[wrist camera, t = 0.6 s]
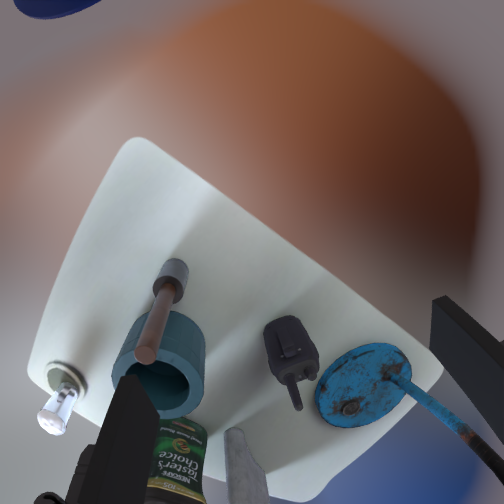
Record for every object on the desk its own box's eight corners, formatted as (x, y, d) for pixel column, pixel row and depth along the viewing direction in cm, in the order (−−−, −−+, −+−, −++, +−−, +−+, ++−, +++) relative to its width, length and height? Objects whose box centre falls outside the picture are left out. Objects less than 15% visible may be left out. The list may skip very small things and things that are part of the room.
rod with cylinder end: (156, 273, 38) (115, 356, 21) (172, 252, 37) (137, 327, 20) (178, 289, 39) (152, 381, 21) (194, 269, 38) (176, 353, 21)
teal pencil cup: (116, 346, 40) (97, 387, 31) (156, 294, 39) (140, 329, 30) (177, 386, 42) (171, 430, 34) (221, 340, 41) (222, 382, 32)
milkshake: (90, 399, 42) (71, 443, 33) (64, 400, 42) (43, 441, 32) (78, 377, 41) (55, 420, 31) (52, 378, 41) (27, 419, 31)
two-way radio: (266, 345, 42) (287, 424, 27) (254, 318, 41) (271, 394, 26) (305, 329, 42) (342, 403, 27) (295, 301, 41) (331, 371, 26)
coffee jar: (214, 426, 45) (217, 526, 27) (192, 451, 47) (189, 543, 29) (158, 402, 43) (139, 504, 25) (139, 430, 44) (119, 523, 27)
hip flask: (266, 475, 50) (282, 563, 31) (246, 480, 50) (257, 567, 31) (240, 426, 46) (252, 534, 26) (215, 431, 46) (219, 539, 26)
